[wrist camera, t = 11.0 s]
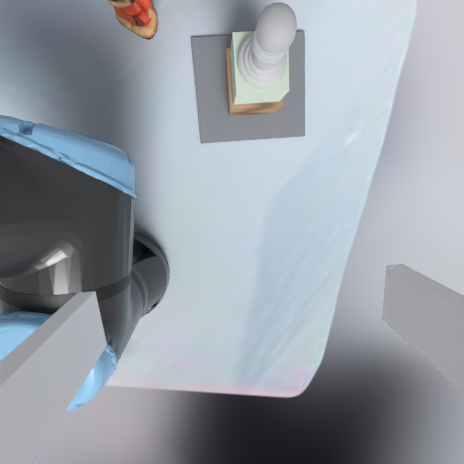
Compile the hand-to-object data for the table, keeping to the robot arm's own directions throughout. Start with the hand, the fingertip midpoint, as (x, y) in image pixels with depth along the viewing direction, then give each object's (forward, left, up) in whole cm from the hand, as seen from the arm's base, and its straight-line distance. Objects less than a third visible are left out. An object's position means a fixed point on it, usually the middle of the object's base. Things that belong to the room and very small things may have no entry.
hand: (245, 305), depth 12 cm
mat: (+5, +17, -32) cm, 36 cm away
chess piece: (+5, +17, -22) cm, 28 cm away
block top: (+5, +17, -26) cm, 32 cm away
